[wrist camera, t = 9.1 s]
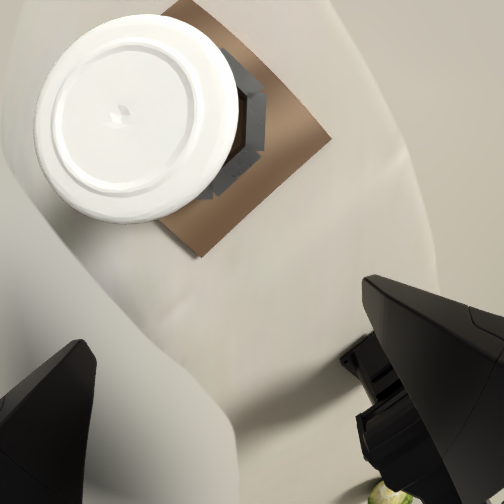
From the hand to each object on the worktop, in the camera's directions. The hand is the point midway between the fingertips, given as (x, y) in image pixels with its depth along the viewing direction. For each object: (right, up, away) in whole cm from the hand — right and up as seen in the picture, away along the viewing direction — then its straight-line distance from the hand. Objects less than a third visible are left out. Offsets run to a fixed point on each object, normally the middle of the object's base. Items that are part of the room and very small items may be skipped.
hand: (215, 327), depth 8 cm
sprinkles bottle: (-3, +10, +9) cm, 14 cm away
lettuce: (+32, -53, +41) cm, 74 cm away
